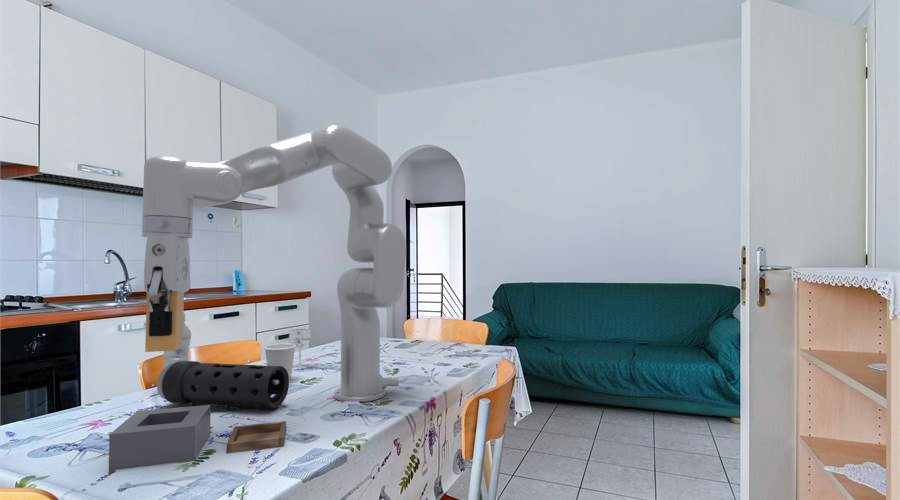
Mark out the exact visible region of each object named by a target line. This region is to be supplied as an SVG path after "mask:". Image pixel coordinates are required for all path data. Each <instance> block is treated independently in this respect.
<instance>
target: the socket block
mask: <svg viewBox="0 0 900 500" xmlns="http://www.w3.org/2000/svg"><path fill="white" fill-rule="evenodd" d="M211 408H212V405H203V406H183V407H182V406H181V407H180V406H179V407H170V408H160V409H148V410H138V411H136V412H134V413H133V414H132V415H131V416H130V417H129V418H127V419H126V420H125V421H124V422H123V423H121V424H120V425H119V426H118V427H116V428H115V429H114V430H113V431H111V432H110V433H109V435H108V440H109V441H108V474H114V473H115V472H116V470H124V469H132V468H134V469H135V468H141V467H142V468H143V467H150V466H159V465H166V464H175V463H184V462H192V461H193V462H194V461H196V459H197V457H198V456H199V455H200V453H201V451H202V449H203V447H204V446H205V444H206V443H207V441H208V439H209V437H210V436H211V413H212V412H211Z"/></svg>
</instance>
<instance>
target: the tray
mask: <svg viewBox="0 0 900 500" xmlns="http://www.w3.org/2000/svg"><path fill="white" fill-rule="evenodd" d="M286 431H287V421H286V420H284V421H272V422H264V423H253V424H244V425H235V426H234V428H233V429H232V432H231V434H230V436H229V438H228V441H227V443H226V448H225V450H226V452H225V453H226V454H232V453H233V454H234V453H242V452H249V451H259V450H268V449H269V450H270V449H276V448H277V449H278V448H283V447H284V446H285V438H286Z"/></svg>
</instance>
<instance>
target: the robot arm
mask: <svg viewBox="0 0 900 500" xmlns="http://www.w3.org/2000/svg"><path fill="white" fill-rule="evenodd" d="M143 165H144V166H143V183H142V184H143V187H142V188H143V190H142V215H141V216H142V223H141V237H142V238H143V237H144V238H145V237H146V243H145V254H144V255H145V256H144V264H143V265H144V268H143V269H144V270H143V284H144V285H143V289H144V291H145V292H146V294H147V293H149V297H150V308H149V311H150V316H149V336H169V335H171V334H172V312H169V311H170V305H171V292H172V291H173V293H174V294H178V293H184V294H185V293H187V292H188V291H189V290H190V289H191V264H190V260H191V259H190V245H189V239H192V238H193V225H194V223H193V222H194V219H193V217H194V207H195V208H200V209H202V208H209V207H214V206H219V205H226V204H229V203H232V202H233V201H235V200H237V199H238V198H239V197H240V196H241V195H242V194H244V193H249V192H252V191H255V190H261V189H264V188H265V189H266V188H271V187H275V186H279V185H281V184H285V183H288V182H289V181H293V180H295V179H298V178H299V177H303V176H305V175H307V174H310V173H313V172H316V171H318V170H319V171H320V170H321V169H324V168H327V167H330V166H332V168H331V173H332V175H333V176H332V177H333V180H334V181H335V183H336V184H337V185H338V186H339V188H340V189H341V191H342V192H343V193H344V194H345V196H346V198H347V200H348V203H349V220H348V221H349V223H348V230H347V231H348V232H347V233H348V234H347V240H346V241H347V244H346V246H347V247H346V249H347V255H348V256H349V258H350V259H351V260H352V261H354V262H357V263H368V264H369V263H373V266H372V267H354V268H351V269H348V270H346V271H345V272H344V273H342V274H341V276H339V279H338V281H337V286H336V293H337V294H336V295H337V300H338V304H339V310H340V311H339V313H340V388H337V389H335V391H334V393H333V394H334V395H333V396H334V398H335V399H336V400H338V401H341V402H358V403H363V402H371V401H372V402H373V401H377V400H379V399H382V398H384V397H385V396H386V394H387V387H399V385H400V381H399V380H400V379H399V378H398V377H394V378H393V377H392V376H391V377H383V376H382V375H381V368H380V367H381V365H380V364H381V359H380V358H381V353H380V352H381V349H380V347H381V346H380V345H381V338H380V337H381V334H380V333H381V327H380V326H381V325H380V318H379V314H378V312H377V309H376V308H380V309H381V308H382V309H383V308H384V309H386V308H387V309H388V308H391V307H393V306H396V304H397V303H398V302H399V301H400V299H401V297H402V295H403V289H404V282H405V270H406V261H407V260H406V259H407V257H406V256H407V242H406V237H405V235H404V233H403V231H402V229H400V228H399V227H398V226H397V225H396V224H392V223H388V222H387V223H386V222H385V223H384V213H385V212H384V211H385V210H384V209H385V208H384V203H383V199H382V198H381V196H380V194H379V192H378V191H377V189H376V188H375V187H374V186H378V185H381V184H382V185H383V184H384V183H386V182H387V181H388V180H389V179H390V177H391V176H392V171H393V165H392V162H391V159H390V156H389V155H388V154H387V153H386V152H385V151H384V150H383V149H382V148H380V147H379V146H377V145H376V144H374V143H372V142H371V141H370V140H368V139H366V138H365V137H364V136H361V135H360V134H358V133H357V132H355V131H354V130H351V129H349V128H348V127H345V126H344V125H340V124H331V125H328V126H324V127H321V128H317V129H313V130H310V131H308V132H304V133H301V134H298V135H294V136H292V137H288V138H284V139H281V140H277V141H275V142H271V143H267V144H264V145H262V146H259V147H257V148H254V149H251V150H249V151H247V152H245V153H243V154H240V155H237V156H235V157H232V158H228V159H225V160H223V161H219V162H197V161H188V160H185V159H182V158H179V157H173V156H151V157H149V158H147V159H146V161H145V162H144V164H143ZM160 291H167V293H160ZM164 297H166V300H165V298H164Z"/></svg>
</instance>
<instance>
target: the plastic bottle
mask: <svg viewBox="0 0 900 500" xmlns="http://www.w3.org/2000/svg"><path fill="white" fill-rule="evenodd" d="M186 320H187V319H186V314H185V313H184V317H183V346H182V347H181V348H179V349H177V350H176V351H163V366H162V370H163V369H164V368H165V367H166V366H168V365H169V364H172V363H176V362H179V361H189V354H190V352H189V351H190V347H191V339H192V333H191V330H190V328H189V326H188V325H187V324H186V323H185V322H186Z"/></svg>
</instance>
